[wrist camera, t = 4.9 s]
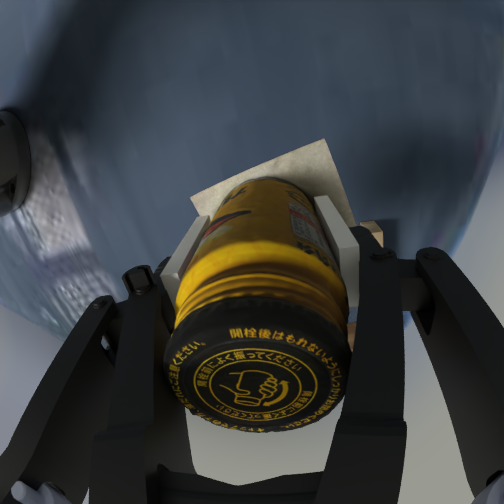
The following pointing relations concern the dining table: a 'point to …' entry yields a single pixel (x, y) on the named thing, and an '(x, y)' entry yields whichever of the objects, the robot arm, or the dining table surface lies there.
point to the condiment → (264, 301)
